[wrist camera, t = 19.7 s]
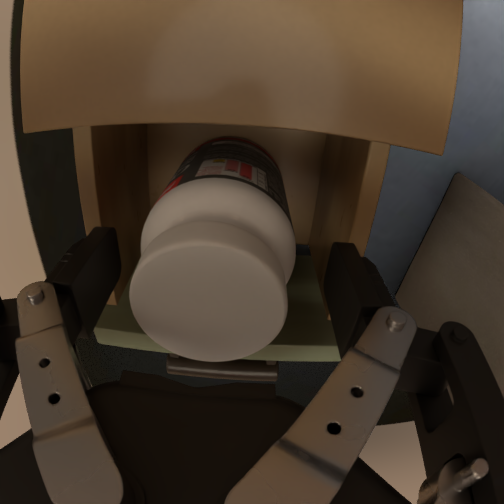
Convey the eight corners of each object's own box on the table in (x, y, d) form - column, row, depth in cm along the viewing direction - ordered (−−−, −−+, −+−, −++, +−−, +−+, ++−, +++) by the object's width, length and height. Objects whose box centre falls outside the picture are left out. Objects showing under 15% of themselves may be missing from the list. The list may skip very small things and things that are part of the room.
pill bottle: (182, 129, 16) (102, 208, 7) (290, 142, 16) (332, 235, 8) (176, 225, 19) (124, 358, 10) (272, 237, 19) (284, 378, 11)
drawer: (308, 326, 25) (321, 413, 18) (147, 315, 24) (119, 398, 18) (358, 63, 15) (428, 66, 8) (127, 50, 14) (48, 49, 8)
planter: (365, 216, 21) (505, 520, 4) (460, 170, 19) (661, 383, 2) (410, 350, 28) (468, 530, 12) (477, 315, 26) (557, 478, 10)
